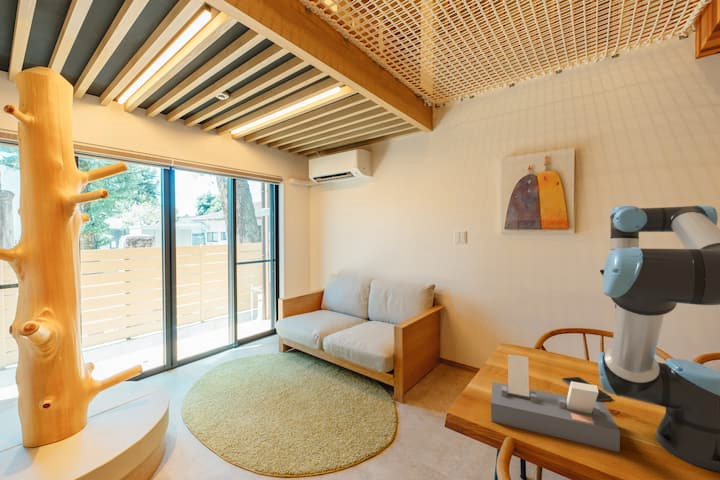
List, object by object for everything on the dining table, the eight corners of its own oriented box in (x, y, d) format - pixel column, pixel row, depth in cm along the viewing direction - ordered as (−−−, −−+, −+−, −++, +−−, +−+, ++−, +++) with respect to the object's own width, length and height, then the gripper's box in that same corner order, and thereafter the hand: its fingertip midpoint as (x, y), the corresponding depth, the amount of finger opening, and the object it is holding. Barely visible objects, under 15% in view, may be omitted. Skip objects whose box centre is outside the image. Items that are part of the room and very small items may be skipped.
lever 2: (566, 402, 92) (570, 381, 85) (590, 406, 89) (596, 385, 83) (567, 408, 90) (572, 387, 84) (591, 413, 88) (598, 392, 81)
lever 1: (508, 392, 100) (507, 354, 104) (528, 396, 97) (527, 357, 101) (508, 392, 98) (508, 354, 102) (529, 396, 95) (528, 357, 99)
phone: (593, 399, 104) (561, 378, 119) (593, 403, 104) (560, 380, 119) (614, 398, 104) (579, 376, 119) (614, 401, 104) (579, 379, 119)
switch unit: (492, 398, 107) (492, 376, 107) (603, 421, 93) (604, 396, 93) (491, 421, 95) (491, 396, 94) (619, 452, 81) (620, 423, 80)
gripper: (652, 252, 101) (650, 322, 100) (603, 250, 111) (602, 314, 110) (647, 251, 96) (646, 324, 95) (597, 250, 106) (595, 316, 106)
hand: (622, 319), depth 103 cm, fingers closed
